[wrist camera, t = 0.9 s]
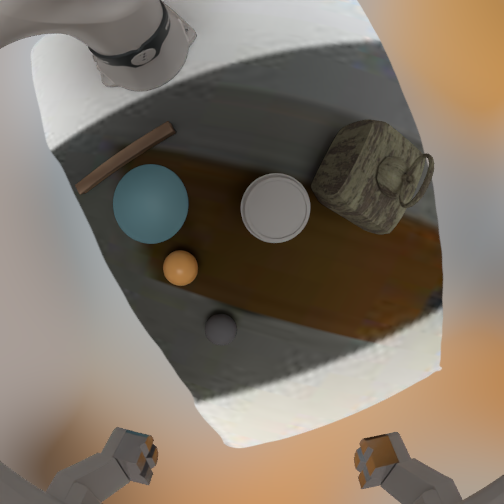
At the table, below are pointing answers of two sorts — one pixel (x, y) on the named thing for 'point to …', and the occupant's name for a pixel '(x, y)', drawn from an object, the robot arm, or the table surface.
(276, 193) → the disposable coffee cup
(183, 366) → the table surface
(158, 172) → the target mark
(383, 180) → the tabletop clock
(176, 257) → the orange ball
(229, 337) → the dark gray ball
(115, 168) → the stopper wall
